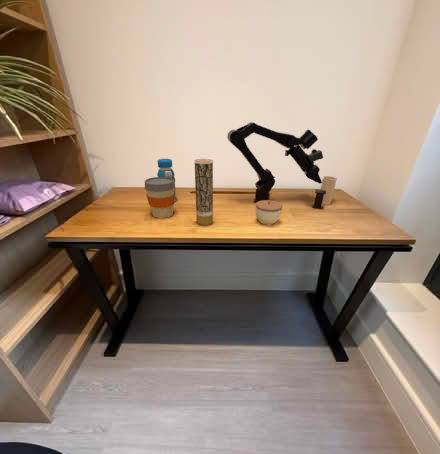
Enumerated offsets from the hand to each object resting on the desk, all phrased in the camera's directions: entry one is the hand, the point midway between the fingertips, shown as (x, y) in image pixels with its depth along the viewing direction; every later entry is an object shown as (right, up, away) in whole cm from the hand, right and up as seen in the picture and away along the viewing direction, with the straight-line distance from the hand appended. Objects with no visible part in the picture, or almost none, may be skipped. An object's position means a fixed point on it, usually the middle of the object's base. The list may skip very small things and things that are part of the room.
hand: (318, 180), depth 124 cm
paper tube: (-55, -23, -19) cm, 63 cm away
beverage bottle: (-75, -9, +4) cm, 76 cm away
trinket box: (-29, -22, -17) cm, 40 cm away
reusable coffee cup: (-74, -18, -11) cm, 77 cm away
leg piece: (-1, -13, -1) cm, 14 cm away
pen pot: (+5, -10, +5) cm, 12 cm away
